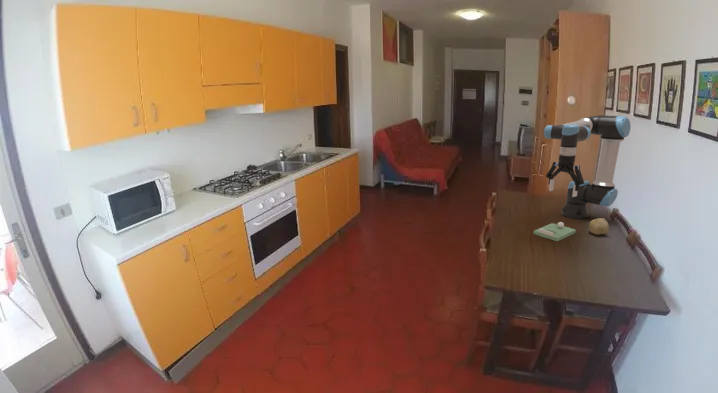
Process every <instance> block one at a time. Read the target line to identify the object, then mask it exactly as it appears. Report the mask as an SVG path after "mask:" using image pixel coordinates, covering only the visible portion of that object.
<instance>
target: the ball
mask: <svg viewBox="0 0 718 393" xmlns="http://www.w3.org/2000/svg"><path fill="white" fill-rule="evenodd" d="M557 226H558V227H559V228H563V227H564V226H565V224H564V222H562V221H559V222H557Z"/></svg>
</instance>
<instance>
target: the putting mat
mask: <svg viewBox="0 0 718 393" xmlns="http://www.w3.org/2000/svg"><path fill="white" fill-rule="evenodd" d="M576 231H577V229H575V228H571V227H568V226H565V225H564V227H563V228H559V227H558V226H557V224H556V223H554V222H551V223H550V224H547V225H544V226H542V227H539V228H537V229H534V230H533V235H536V236H538V237H542V238H545V239H548V240H552V241H555V242H559V241H561V240H564V239H565V238H568V237H569V236H572V235H574V234H575V233H576Z"/></svg>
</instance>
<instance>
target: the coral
mask: <svg viewBox="0 0 718 393" xmlns="http://www.w3.org/2000/svg"><path fill="white" fill-rule="evenodd" d="M588 229H589V231H590V233H592V234H593V235H597V236H598V235H607V234H608V233H609V231H610V227H609V222H608V221H607V220H606V219H605V218H603V217H602V218H601V217H599V218H594V219H592V220H590V222H589V225H588Z"/></svg>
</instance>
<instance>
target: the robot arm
mask: <svg viewBox="0 0 718 393" xmlns="http://www.w3.org/2000/svg"><path fill="white" fill-rule="evenodd" d="M630 133H631V121H630V119H629V117H628V116H623V115H621V116H620V115H592V116H586V117H583V118H582V117H581V118H580V119H579V120H576V121H571V122H568V123H563V124H555V125H554V124H550V125H549V124H547V125H546V126H545V127H544V130H543V137H544V138H545V139H549V140H560V147H559V155H558V161H553V162H552V165H551V167H550V169H549V170H548V172H547V173H546V175H545V178H548V185H549V186H548V191H549V192H552V191H554V187H555V177H556V176H558V175H559V173H565V174H568V175H569V176H570V177H571V179H572V181H569V183H568V187H567V191H566V201H565V204H564V206H563V208H562V209H561V215H562V216H564V217H567V218H569V219H576V220H577V219H579V220H584V219H587V218H588V217H589V211H588V205H587V204H593V205H597V206H600V207H601V206H602V207H610V206H612V205H613V204H614V203H615V201H616V200H617V197H618V189H617V188H615V186H616V184H614V182H613V181H614V176H615V171H616V164H617V162H618V161H617V160H618V155H619V148H620V144H621V142H623V141H624V140H625V138H627V137H628V136H629V135H630ZM591 135H597V136H600V140H601V141H602V144H601V149H600V150H601V151H600V155H599V160H598V161H599V162H598V165H597V166H598V167H597V171H596V176H595V177H596V178H595V180H594V181H592V183H591V181H589V180H584V177H583V174H582V171H581V166H580V165H575V161H576V154H577V147H578V142H585V141H586V140H588V139H590V137H591ZM557 167H558V168H557Z"/></svg>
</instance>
